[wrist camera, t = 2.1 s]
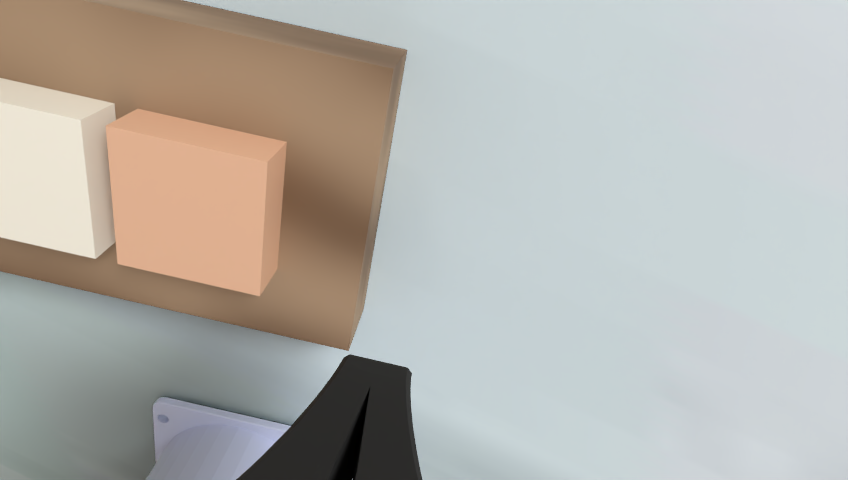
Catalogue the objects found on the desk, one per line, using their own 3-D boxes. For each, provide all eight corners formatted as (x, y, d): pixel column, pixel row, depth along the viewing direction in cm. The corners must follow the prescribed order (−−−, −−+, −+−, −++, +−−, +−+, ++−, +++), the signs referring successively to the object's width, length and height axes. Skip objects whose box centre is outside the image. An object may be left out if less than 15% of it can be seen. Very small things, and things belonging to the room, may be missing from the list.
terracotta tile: (277, 269, 20) (259, 296, 18) (145, 239, 20) (117, 264, 18) (286, 142, 17) (267, 161, 16) (137, 108, 17) (105, 125, 16)
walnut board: (363, 309, 23) (348, 350, 21) (-10, 224, 23) (-62, 256, 21) (407, 50, 18) (393, 68, 16) (-67, -55, 18) (-144, -50, 16)
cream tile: (124, 234, 20) (95, 258, 18) (-7, 204, 20) (-46, 226, 18) (114, 103, 17) (80, 120, 16) (-34, 70, 17) (-81, 84, 16)
